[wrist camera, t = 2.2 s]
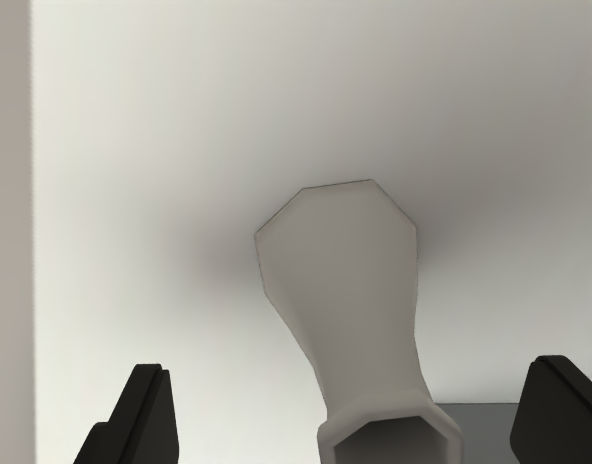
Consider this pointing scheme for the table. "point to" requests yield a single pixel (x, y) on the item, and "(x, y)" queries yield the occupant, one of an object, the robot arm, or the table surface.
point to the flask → (357, 323)
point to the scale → (485, 431)
